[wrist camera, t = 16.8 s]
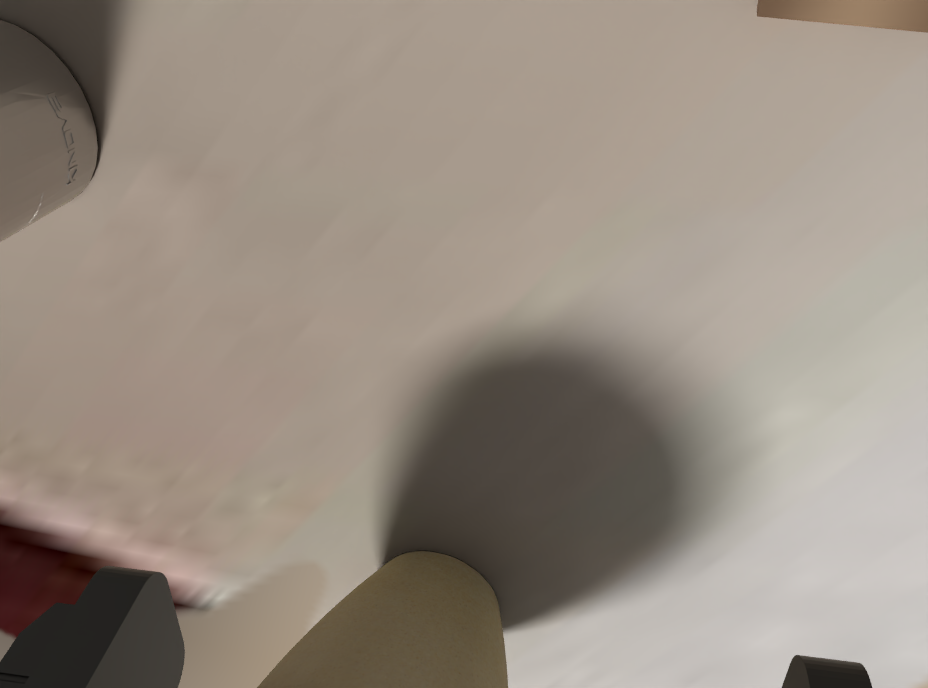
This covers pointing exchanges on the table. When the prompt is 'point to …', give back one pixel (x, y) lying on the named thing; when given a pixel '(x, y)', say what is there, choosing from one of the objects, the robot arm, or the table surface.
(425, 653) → the plant pot
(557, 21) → the table surface
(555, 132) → the table surface
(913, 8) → the walnut socket
